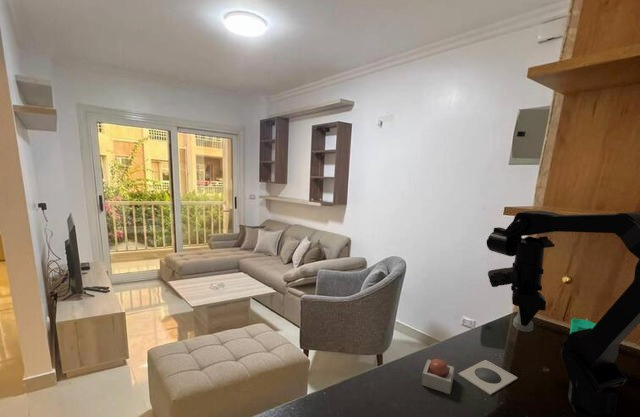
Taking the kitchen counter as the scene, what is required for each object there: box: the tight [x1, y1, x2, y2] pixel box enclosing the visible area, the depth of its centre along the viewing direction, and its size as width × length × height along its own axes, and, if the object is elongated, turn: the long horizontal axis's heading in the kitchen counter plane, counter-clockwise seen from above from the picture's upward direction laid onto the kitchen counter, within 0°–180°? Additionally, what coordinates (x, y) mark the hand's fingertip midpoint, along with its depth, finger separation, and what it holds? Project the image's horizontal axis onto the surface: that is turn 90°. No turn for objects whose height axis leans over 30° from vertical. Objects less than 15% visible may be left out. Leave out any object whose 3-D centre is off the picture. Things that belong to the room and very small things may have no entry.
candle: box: [569, 317, 597, 335], centre depth 79 cm, size 6×6×12 cm
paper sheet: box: [457, 359, 518, 396], centre depth 74 cm, size 11×8×1 cm
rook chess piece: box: [512, 306, 534, 333], centre depth 77 cm, size 4×4×8 cm
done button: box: [430, 358, 448, 378], centre depth 72 cm, size 4×4×2 cm
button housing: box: [421, 358, 455, 395], centre depth 72 cm, size 6×6×3 cm
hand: (523, 321), depth 77 cm, fingers closed on rook chess piece, 4 cm apart
